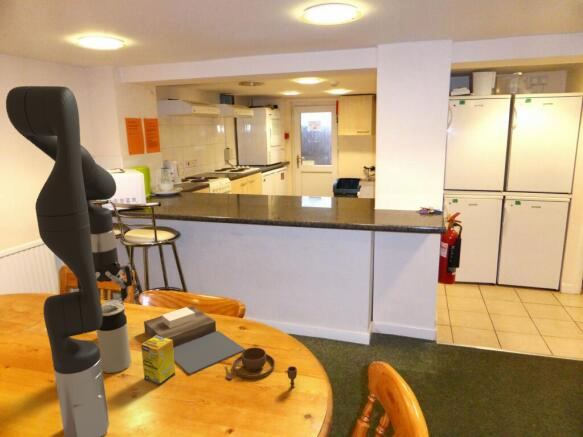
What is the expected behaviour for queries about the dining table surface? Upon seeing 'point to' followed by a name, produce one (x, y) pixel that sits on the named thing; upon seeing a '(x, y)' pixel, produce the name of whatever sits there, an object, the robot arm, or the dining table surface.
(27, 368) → the dining table surface
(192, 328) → the walnut board
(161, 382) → the supplement box
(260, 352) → the place setting
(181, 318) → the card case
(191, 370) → the rubber mat
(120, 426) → the dining table surface
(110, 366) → the travel mug
